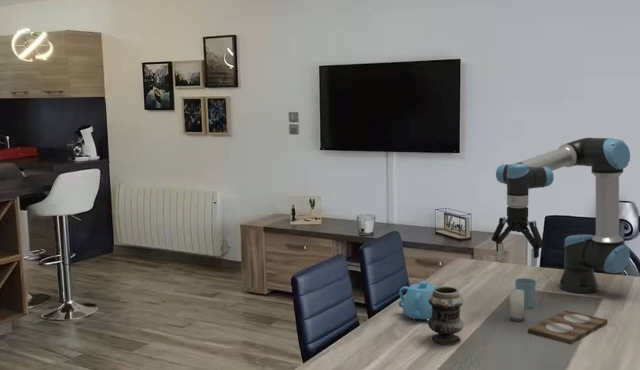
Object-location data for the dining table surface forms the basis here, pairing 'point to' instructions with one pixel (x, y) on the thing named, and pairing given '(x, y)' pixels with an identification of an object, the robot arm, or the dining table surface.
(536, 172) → the robot arm
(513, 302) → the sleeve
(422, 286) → the decorative pot
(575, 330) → the seat board
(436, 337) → the apothecary jar
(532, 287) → the cup
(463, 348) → the dining table surface
